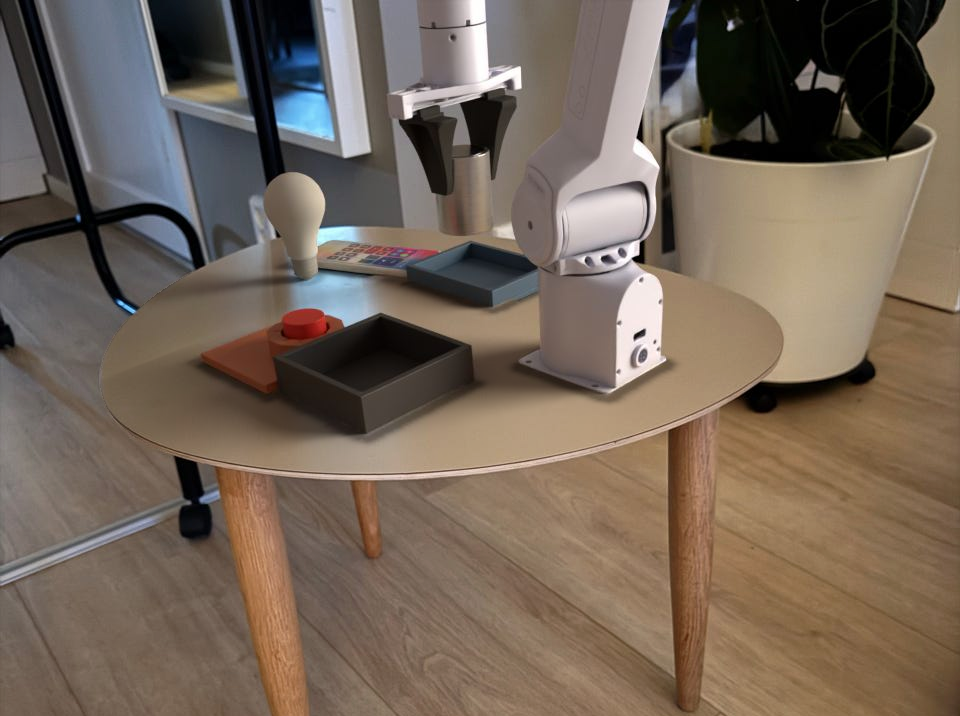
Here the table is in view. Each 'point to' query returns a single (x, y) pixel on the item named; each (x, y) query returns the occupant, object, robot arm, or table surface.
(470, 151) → the steel cup
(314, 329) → the button
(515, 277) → the tray
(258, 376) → the control
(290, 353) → the dark grey open box
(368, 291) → the table surface
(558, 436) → the table surface
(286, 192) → the lightbulb
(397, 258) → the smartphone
